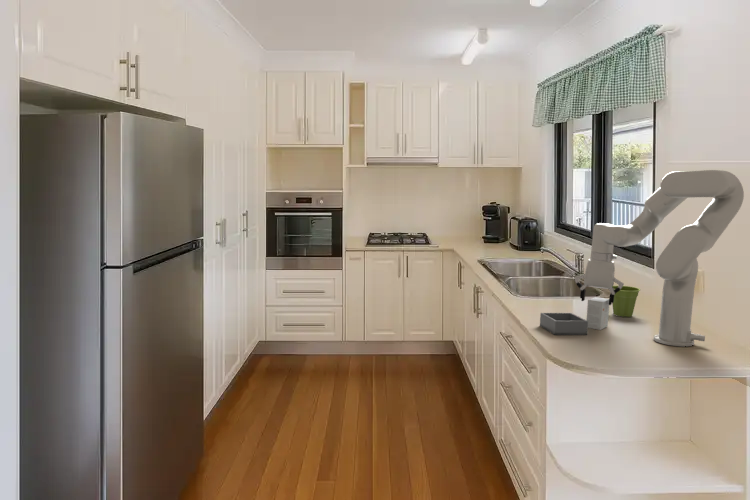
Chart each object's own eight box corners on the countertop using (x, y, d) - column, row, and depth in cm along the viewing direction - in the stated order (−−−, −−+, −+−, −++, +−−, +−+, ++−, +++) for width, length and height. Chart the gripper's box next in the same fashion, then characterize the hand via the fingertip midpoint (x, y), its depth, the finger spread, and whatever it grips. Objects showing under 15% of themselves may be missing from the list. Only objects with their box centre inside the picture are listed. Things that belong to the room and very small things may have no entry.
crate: (570, 325, 231) (571, 312, 230) (586, 334, 218) (587, 321, 217) (539, 326, 229) (540, 312, 229) (554, 335, 216) (555, 321, 216)
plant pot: (608, 310, 260) (610, 284, 259) (638, 314, 255) (641, 287, 254) (605, 316, 250) (607, 288, 248) (637, 320, 245) (639, 291, 243)
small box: (593, 323, 236) (595, 296, 234) (608, 326, 232) (610, 298, 231) (585, 327, 229) (587, 299, 228) (600, 330, 226) (602, 301, 225)
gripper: (627, 258, 227) (622, 304, 230) (578, 253, 235) (574, 297, 237) (625, 261, 221) (620, 308, 223) (575, 255, 228) (570, 300, 231)
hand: (596, 302), depth 230 cm, fingers open, 9 cm apart
